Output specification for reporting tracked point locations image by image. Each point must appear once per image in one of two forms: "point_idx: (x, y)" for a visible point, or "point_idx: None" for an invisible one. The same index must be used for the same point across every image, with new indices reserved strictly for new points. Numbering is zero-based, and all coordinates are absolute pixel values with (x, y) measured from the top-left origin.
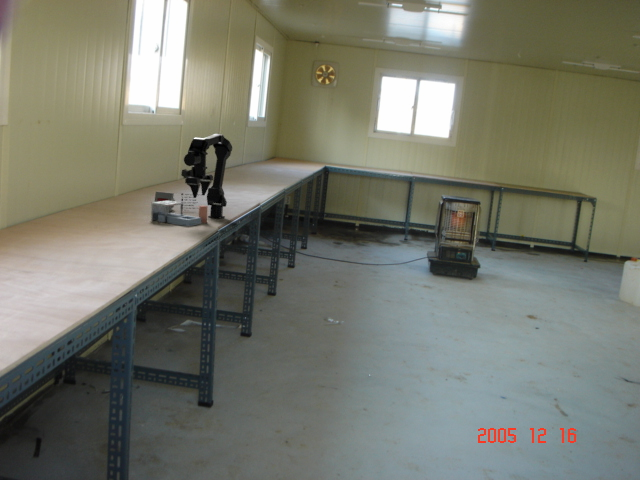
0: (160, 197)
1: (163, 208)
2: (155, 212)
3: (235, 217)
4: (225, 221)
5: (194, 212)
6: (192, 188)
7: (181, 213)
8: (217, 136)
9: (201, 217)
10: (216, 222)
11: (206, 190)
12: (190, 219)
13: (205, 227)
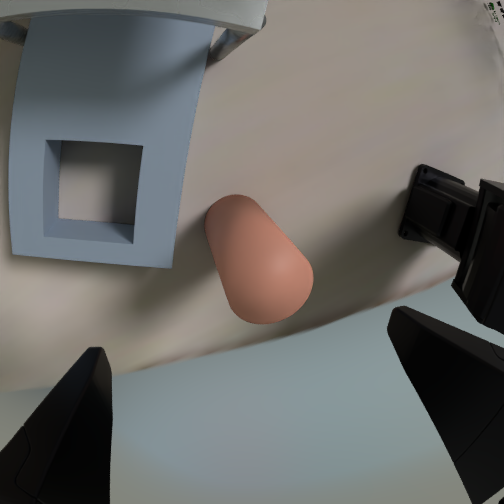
0: None
1: None
2: None
3: (453, 274)
4: (342, 303)
5: (488, 53)
6: (15, 486)
7: (219, 44)
8: None
9: (210, 246)
10: None
11: (427, 395)
12: (40, 253)
13: (86, 325)
